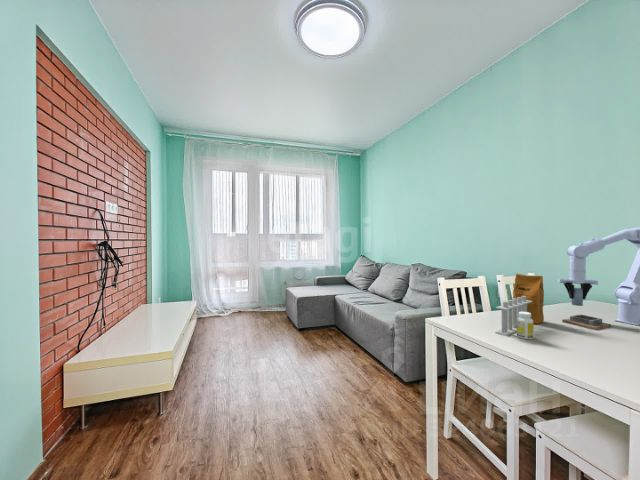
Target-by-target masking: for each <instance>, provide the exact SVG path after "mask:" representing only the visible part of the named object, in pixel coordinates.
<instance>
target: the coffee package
mask: <svg viewBox="0 0 640 480" xmlns="http://www.w3.org/2000/svg"><path fill="white" fill-rule="evenodd" d="M543 279H544V277H543V275H526V274H521V273H518V272H517V273H515V278H514V284H513V290H512V300H513V299H517V297H522V296H526V300H529V301H533V302H531V303H528V304H527V312H529V313H531V317H530V318H531V319H532V320H533V325H534V324H535V325H540V324H541V323H542V322H544V321H545V320H544V319H545V318H544V300H545V298H544V297H545V291H544V282H543Z"/></svg>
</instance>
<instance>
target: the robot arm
mask: <svg viewBox="0 0 640 480" xmlns="http://www.w3.org/2000/svg"><path fill="white" fill-rule="evenodd" d="M623 240H627V242H630V243H631V244H633V245H634V246H635V247H636V248H637V249H638V250H637V252H636V255H635V257H634V259H633V262H632V264H631V267H630V269H629V272H628V275H627V277H626V279H625V280H624V281H622V282H621V283H620V284H619V285H618V287H616V288H615V289H614V292H613V294H614V295H613V296H614V297H615V298H616V299H617V301H618V307H617V308H618V309H617V318H613V321H615V322H619V323H624V324H628V325H633V326H634V325H635V326H639V325H640V227H628V228H625V229H621V230H620V231H617V232H614V233H612V234H610V235H609V234H608V235H607V236H605V237H602V238H599V237H598V238H594V237H592V238H589V239H588V240H587V241H584V242H579V243H578V245H571V246H570V247H569V248H568V249H567V251H566V254H567V255H568V257H569V278H557V283H559V284H563V285H564V287H565V288H566V291H567V294H568V297H569V299H571V300H572V299H573V291H574V288H575V285H576V284H577V285H580V288H582V289H583V301H584V300H586V299H587V295H588V293H589V292H590V290H591V289H592V287H593V285H595V286H596V285H597V286H598V285H599V280H596V279H586V278H587V275H586V274H587V258H588V257H589V256H590V254H593V253H597V252H599V251H602V250H604V249H605V247H606V246H607V245H608V246H609V245H610V244H614V243H617V242H621V241H623ZM574 284H575V285H574Z"/></svg>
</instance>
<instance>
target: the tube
mask: <svg viewBox="0 0 640 480" xmlns="http://www.w3.org/2000/svg"><path fill="white" fill-rule="evenodd" d="M571 305H572V306H576V307H577V306H578V307H583V306H584V300H583V289H582V288H581V287H574V291H573V299H571Z"/></svg>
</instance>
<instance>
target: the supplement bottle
mask: <svg viewBox="0 0 640 480" xmlns="http://www.w3.org/2000/svg"><path fill="white" fill-rule="evenodd" d="M530 317H531V313H529V312H519V317H518V318H517V332H516V336H517V337H518V338H520V339H524V340H533V339H534V323H533V320H532V319H531V318H530Z"/></svg>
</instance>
